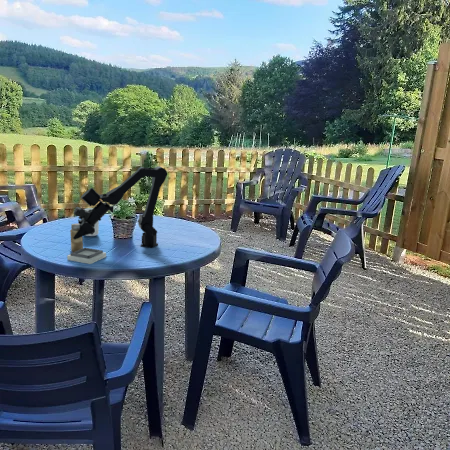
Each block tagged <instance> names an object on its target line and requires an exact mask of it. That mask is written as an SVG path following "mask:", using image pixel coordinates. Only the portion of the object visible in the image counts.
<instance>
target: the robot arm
mask: <svg viewBox="0 0 450 450" xmlns="http://www.w3.org/2000/svg"><path fill="white" fill-rule="evenodd" d="M144 177H149V178H151V186H150V191H149V195H148V198H147V202H146V205H145V208H144V212H143V213H142V214H141V213H139V216H138V217H139V218H138V220H137V224H138V227H139V228H140V230H141V231H142V233H141V234H142V235H141V244H140V247H146V248H151V249H152V248H155V247H156V246H158V245H159V243H158V241H157V236H158V235H157V234H158V230H157V229H156V228H155V227H154V212H155V208H156V206H157V205H156V204H157V202H158V197H159V194H160V190H161V187H162V186H163V184H164V183H165V181H166V179H167V177H168V171H167V170H166V168H164V167H162V166H155V167H143V166H141V167H138V168H137V170H136V171H135V172H133V173H132V174H131V175H130V176H129V177H128V178H126V180H124V181H123V182H121V184H119V185H118V186H117V187H114V188H112V189H111V190H109V191H107V192H106V193H102V194H99V193H98V192H97V191H96V190H95V189H94V188H93V187H90V188H89V189H88V190H86V191H84V193H83V194H81V197H80V199H81V200H83V201H84V202H85V203H86V204H87V205H89V207H92V208H93V209H92V210H89V211H86V210H85V209H86V208H83V207H82V208H81V207H79V206H76V207H75V209H74V211H73V214H74V216H76V217H77V216H78V220H77V221H78V224H80V229H79V230H78V231H77V233H76V234H75V236H74V237H73V239H77V238H80V237H82V236H83V237H84V236H85V235H88V234H91V235H92V234H93V233H94V232H95V228H94V226H95V224H96V223H97V222H98V221H99V222H100V221H102V218H103V217H104V216H105V215H106V214H107V213H108V212H111V213H112V214H113V213H114V206H115V205H118V204H119V202H121V200H122V199H123V197H124V195H126V193H127V192H128V191H129V190H130V189H131V188H132V187H134V186H135V185H136V184H137V183H138V182H139V181H141V179H143V178H144Z"/></svg>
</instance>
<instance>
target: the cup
mask: <svg viewBox="0 0 450 450" xmlns="http://www.w3.org/2000/svg"><path fill="white" fill-rule="evenodd" d="M93 208H94V207H91V208H90V207H89V208H88V207H87V208H84V209H85V210H86V211H89V210H92V209H93ZM99 224H100V221H98V222H97V223H96V224H95V226H94V228H95V232H94V233H93V234H92V235H91V234H88V235H85V236H87V237H95V236H97V235H99V231H100V230H99V229H100V227H99V226H100V225H99Z"/></svg>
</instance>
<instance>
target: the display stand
mask: <svg viewBox="0 0 450 450" xmlns="http://www.w3.org/2000/svg"><path fill="white" fill-rule="evenodd" d="M66 257H67V261H71V262H78V263H82V264H88V265H91V264H94V263H96V262H99V261H100V260H102V259H105V258H107V252H106V251H104V250H101V249H96V248H95V249H94V248H90V247H83V248H82V249H80V250H77V251H75V252H72V251H71V253H70V254H68V255H66Z"/></svg>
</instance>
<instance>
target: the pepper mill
mask: <svg viewBox="0 0 450 450" xmlns="http://www.w3.org/2000/svg"><path fill="white" fill-rule="evenodd" d="M79 229H80V224H78V223H72V224H71V228H70V231H69V232H70V252H71V253H72V252H75V251H77V250H80V249H82V248H84V241H83V238H84V236H82V237H80V238H77V239H73V237H74V236H75V234H76V233H77V231H78V230H79Z"/></svg>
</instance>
